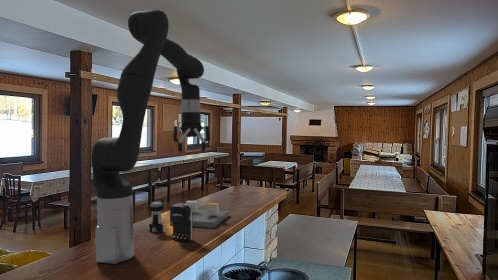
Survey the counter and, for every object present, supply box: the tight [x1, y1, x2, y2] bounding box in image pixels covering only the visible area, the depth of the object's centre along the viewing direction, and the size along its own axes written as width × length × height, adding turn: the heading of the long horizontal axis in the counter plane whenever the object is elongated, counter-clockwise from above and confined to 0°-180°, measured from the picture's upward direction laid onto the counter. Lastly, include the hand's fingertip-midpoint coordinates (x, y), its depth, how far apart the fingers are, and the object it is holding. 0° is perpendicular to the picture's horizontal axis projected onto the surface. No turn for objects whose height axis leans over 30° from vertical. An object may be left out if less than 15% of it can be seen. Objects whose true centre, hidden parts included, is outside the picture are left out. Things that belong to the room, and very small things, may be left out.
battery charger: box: [169, 203, 193, 242], centre depth 113 cm, size 7×4×11 cm, turn 64°
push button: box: [147, 201, 165, 234], centre depth 123 cm, size 7×5×10 cm
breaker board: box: [169, 200, 230, 229], centre depth 137 cm, size 18×17×6 cm
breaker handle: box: [206, 202, 220, 216], centre depth 136 cm, size 2×4×4 cm, turn 76°
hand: (191, 152), depth 142 cm, fingers open, 8 cm apart
